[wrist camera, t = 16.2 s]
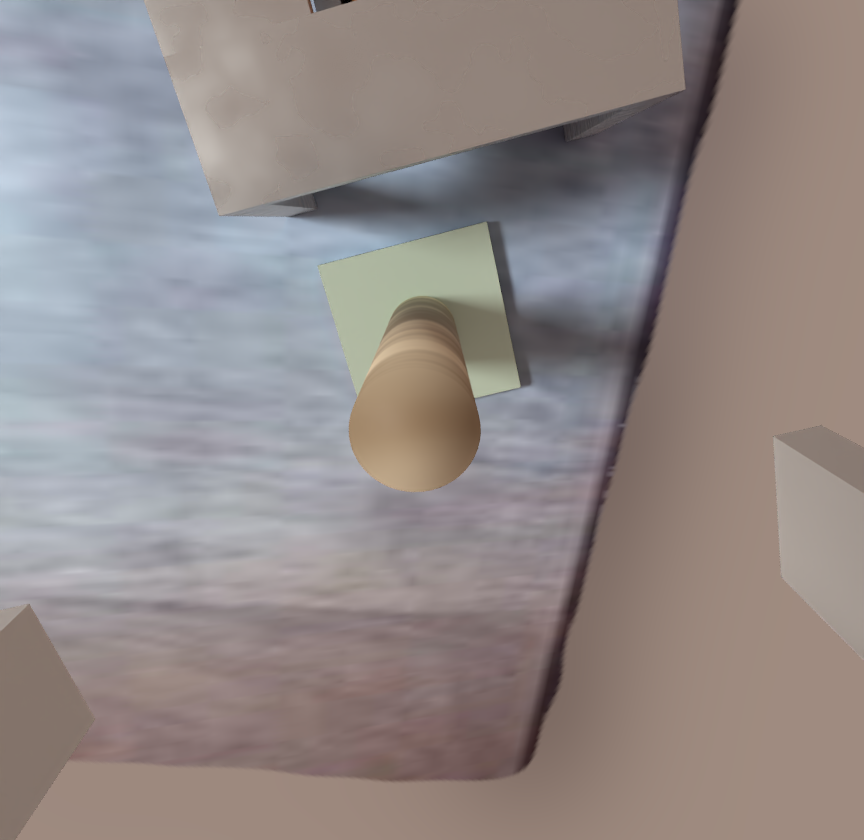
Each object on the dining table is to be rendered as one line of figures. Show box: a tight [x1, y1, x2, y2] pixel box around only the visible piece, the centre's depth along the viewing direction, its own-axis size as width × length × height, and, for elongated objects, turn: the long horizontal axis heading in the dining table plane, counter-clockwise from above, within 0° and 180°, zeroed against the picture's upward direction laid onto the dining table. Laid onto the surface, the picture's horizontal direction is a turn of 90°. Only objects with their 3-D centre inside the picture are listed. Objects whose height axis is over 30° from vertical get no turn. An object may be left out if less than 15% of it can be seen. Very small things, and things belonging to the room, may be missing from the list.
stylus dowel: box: [349, 296, 481, 492], centre depth 26 cm, size 4×4×18 cm
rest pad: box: [318, 222, 521, 398], centre depth 35 cm, size 10×10×1 cm
